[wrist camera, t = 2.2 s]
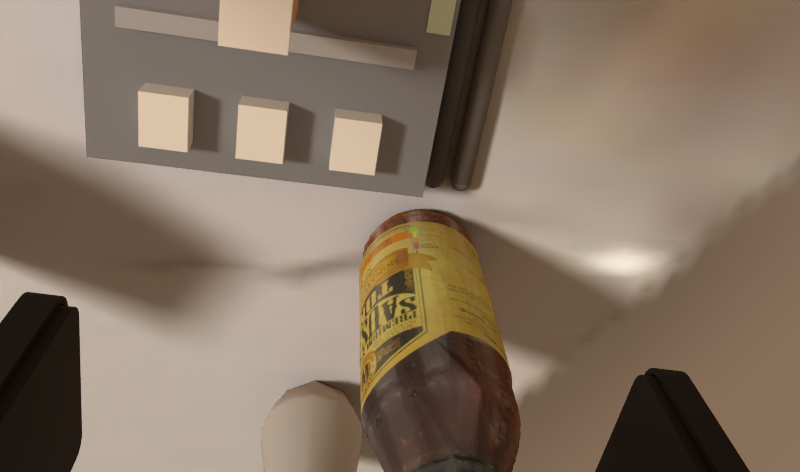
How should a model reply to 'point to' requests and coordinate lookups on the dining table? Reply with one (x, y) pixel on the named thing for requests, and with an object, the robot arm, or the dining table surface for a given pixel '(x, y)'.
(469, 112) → the dark brown grooved strip
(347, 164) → the breaker panel
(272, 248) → the dining table surface
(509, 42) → the dining table surface
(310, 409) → the salt shaker
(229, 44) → the lever
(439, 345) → the sauce bottle
